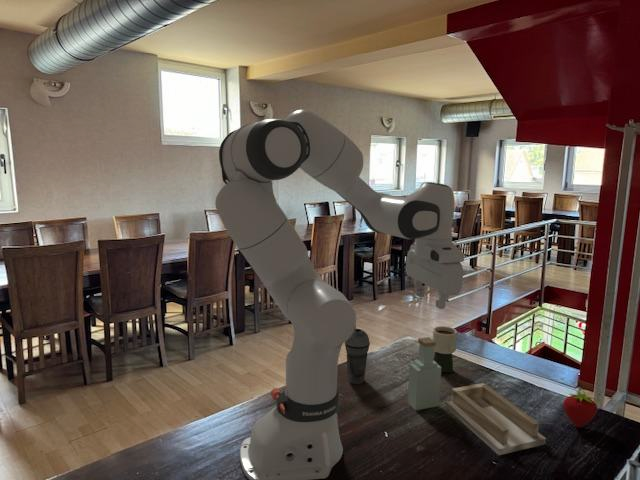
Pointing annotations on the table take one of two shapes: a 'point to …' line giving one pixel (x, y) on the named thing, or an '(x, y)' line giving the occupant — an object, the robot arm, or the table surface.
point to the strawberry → (580, 409)
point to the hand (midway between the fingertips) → (429, 302)
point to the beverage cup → (357, 355)
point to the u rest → (494, 419)
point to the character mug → (444, 347)
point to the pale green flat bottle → (424, 377)
